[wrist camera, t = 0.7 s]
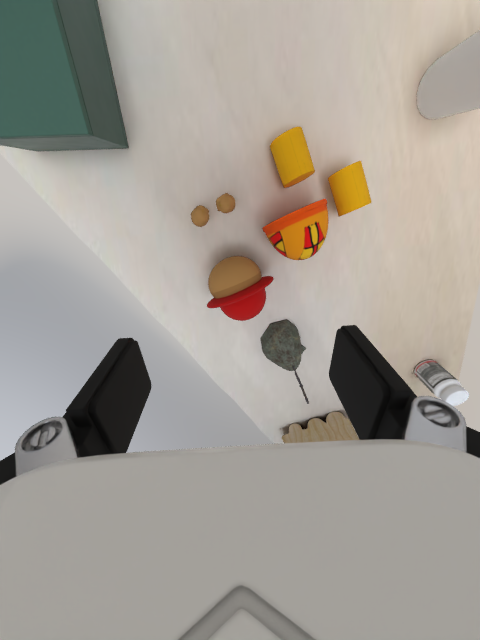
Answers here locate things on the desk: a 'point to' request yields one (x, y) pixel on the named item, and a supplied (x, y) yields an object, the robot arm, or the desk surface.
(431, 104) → the drinking glass
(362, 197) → the toy set
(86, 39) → the green storage box
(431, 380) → the pill bottle
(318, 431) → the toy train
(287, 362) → the sword in stone
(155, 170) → the desk surface
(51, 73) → the lid
